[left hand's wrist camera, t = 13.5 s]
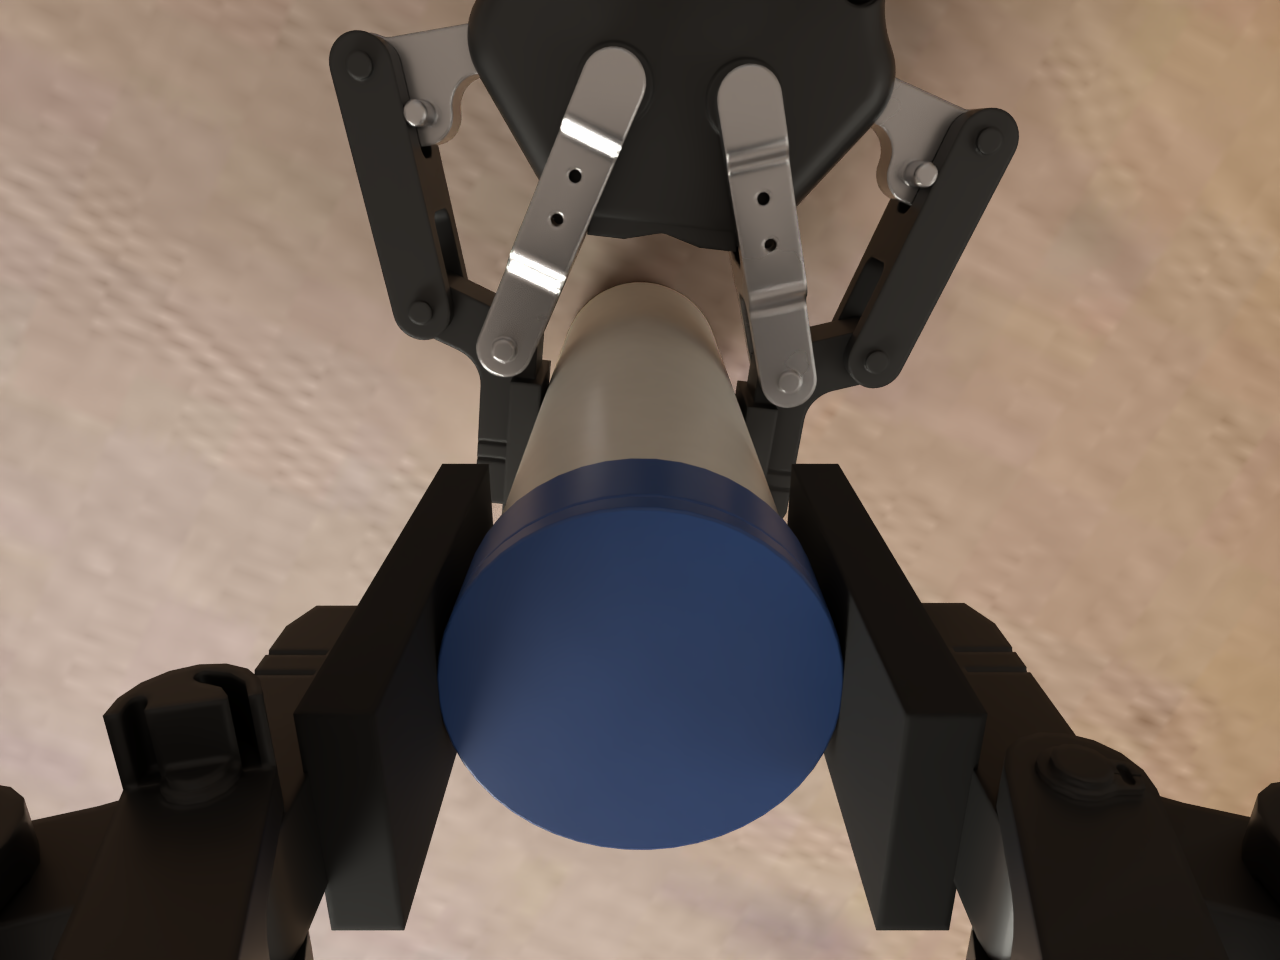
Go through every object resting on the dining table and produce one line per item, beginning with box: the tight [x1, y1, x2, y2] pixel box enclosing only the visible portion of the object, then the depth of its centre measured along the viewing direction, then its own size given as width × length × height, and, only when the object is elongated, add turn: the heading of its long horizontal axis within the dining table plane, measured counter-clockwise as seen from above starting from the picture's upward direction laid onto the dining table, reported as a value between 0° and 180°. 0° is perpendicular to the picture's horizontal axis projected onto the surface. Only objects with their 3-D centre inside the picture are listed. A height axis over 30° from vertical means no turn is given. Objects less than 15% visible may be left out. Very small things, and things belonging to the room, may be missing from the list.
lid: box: [437, 458, 844, 850], centre depth 11 cm, size 5×5×2 cm
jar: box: [502, 282, 779, 515], centre depth 19 cm, size 5×5×16 cm
